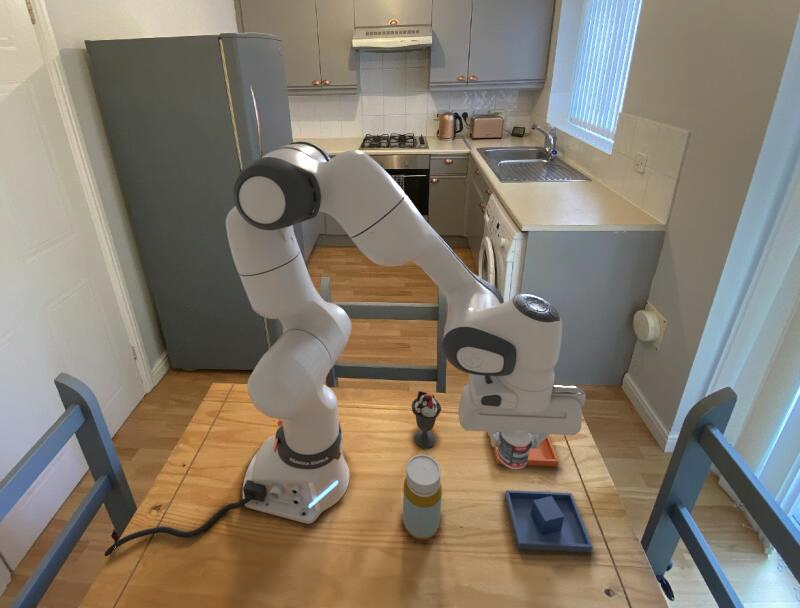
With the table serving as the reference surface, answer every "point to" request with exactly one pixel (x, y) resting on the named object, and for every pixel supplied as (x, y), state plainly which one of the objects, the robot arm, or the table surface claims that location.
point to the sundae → (425, 418)
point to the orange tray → (539, 454)
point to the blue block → (547, 515)
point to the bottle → (422, 497)
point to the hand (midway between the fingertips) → (513, 444)
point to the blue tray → (529, 533)
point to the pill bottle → (514, 448)
